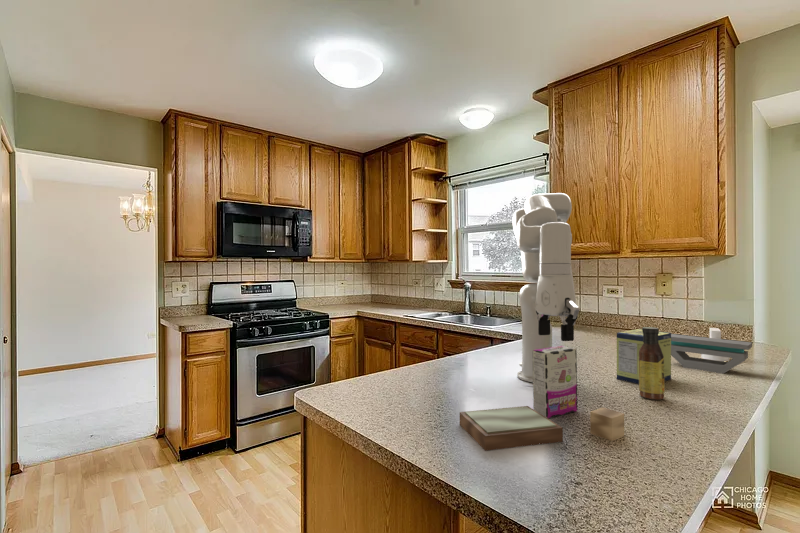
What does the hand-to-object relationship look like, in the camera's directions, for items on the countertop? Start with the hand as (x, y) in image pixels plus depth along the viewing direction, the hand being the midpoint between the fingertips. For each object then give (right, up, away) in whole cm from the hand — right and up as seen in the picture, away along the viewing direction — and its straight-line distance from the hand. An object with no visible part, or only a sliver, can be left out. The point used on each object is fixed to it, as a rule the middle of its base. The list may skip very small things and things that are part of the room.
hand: (555, 337), depth 105 cm
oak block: (+7, -19, -13) cm, 24 cm away
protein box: (+41, -19, +31) cm, 55 cm away
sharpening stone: (+72, -19, +45) cm, 87 cm away
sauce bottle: (+32, -19, +12) cm, 40 cm away
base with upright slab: (+87, -19, +60) cm, 107 cm away
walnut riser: (-15, -19, -12) cm, 28 cm away
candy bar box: (0, -20, +1) cm, 20 cm away
